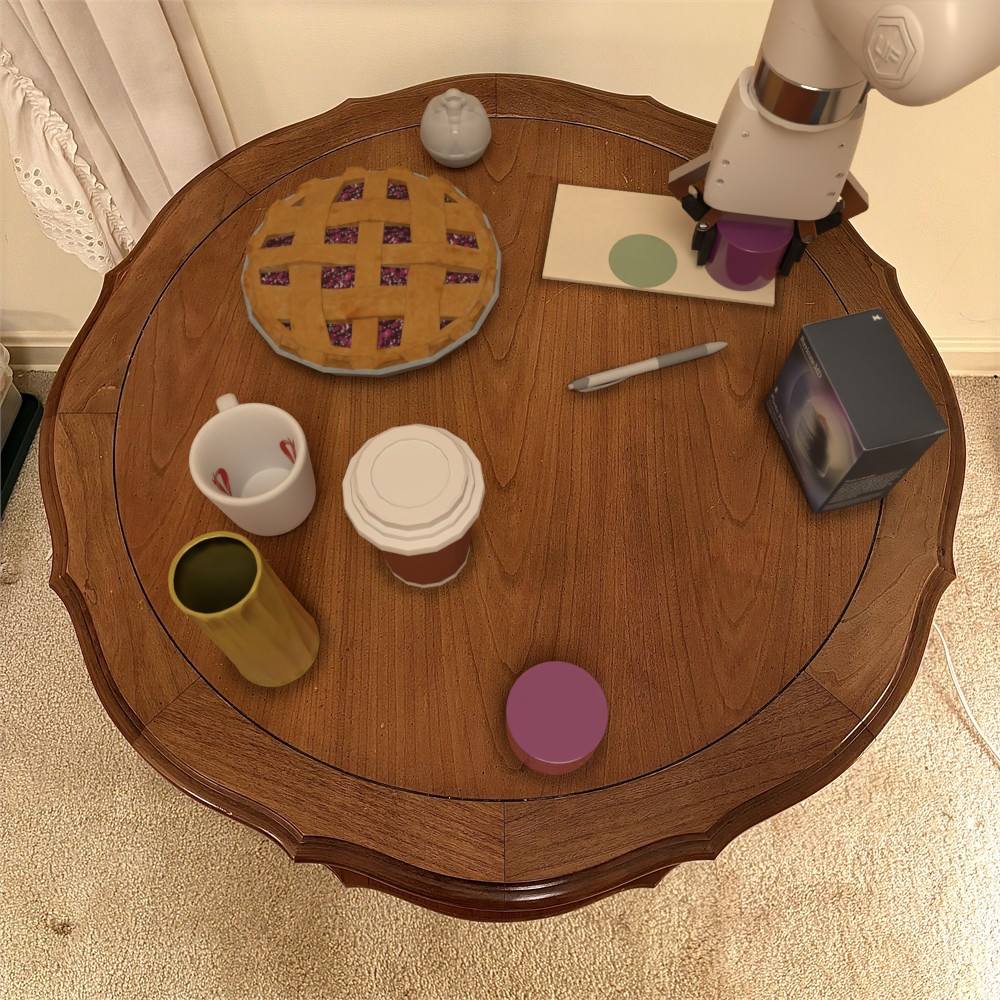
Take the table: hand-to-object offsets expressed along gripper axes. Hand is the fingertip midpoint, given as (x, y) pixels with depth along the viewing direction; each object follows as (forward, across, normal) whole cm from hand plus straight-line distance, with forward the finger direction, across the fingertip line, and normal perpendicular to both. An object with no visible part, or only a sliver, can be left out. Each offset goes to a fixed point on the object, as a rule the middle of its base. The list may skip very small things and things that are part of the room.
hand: (742, 257), depth 73 cm
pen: (+1, +7, +12) cm, 14 cm away
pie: (+1, +31, +8) cm, 32 cm away
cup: (+1, +35, +28) cm, 45 cm away
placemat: (+1, +7, -2) cm, 7 cm away
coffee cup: (+1, +22, +30) cm, 38 cm away
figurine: (+1, +27, -10) cm, 29 cm away
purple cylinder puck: (+1, 0, 0) cm, 1 cm away
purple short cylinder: (+1, +11, +42) cm, 43 cm away
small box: (+1, -7, +18) cm, 19 cm away
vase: (+1, +31, +40) cm, 50 cm away
